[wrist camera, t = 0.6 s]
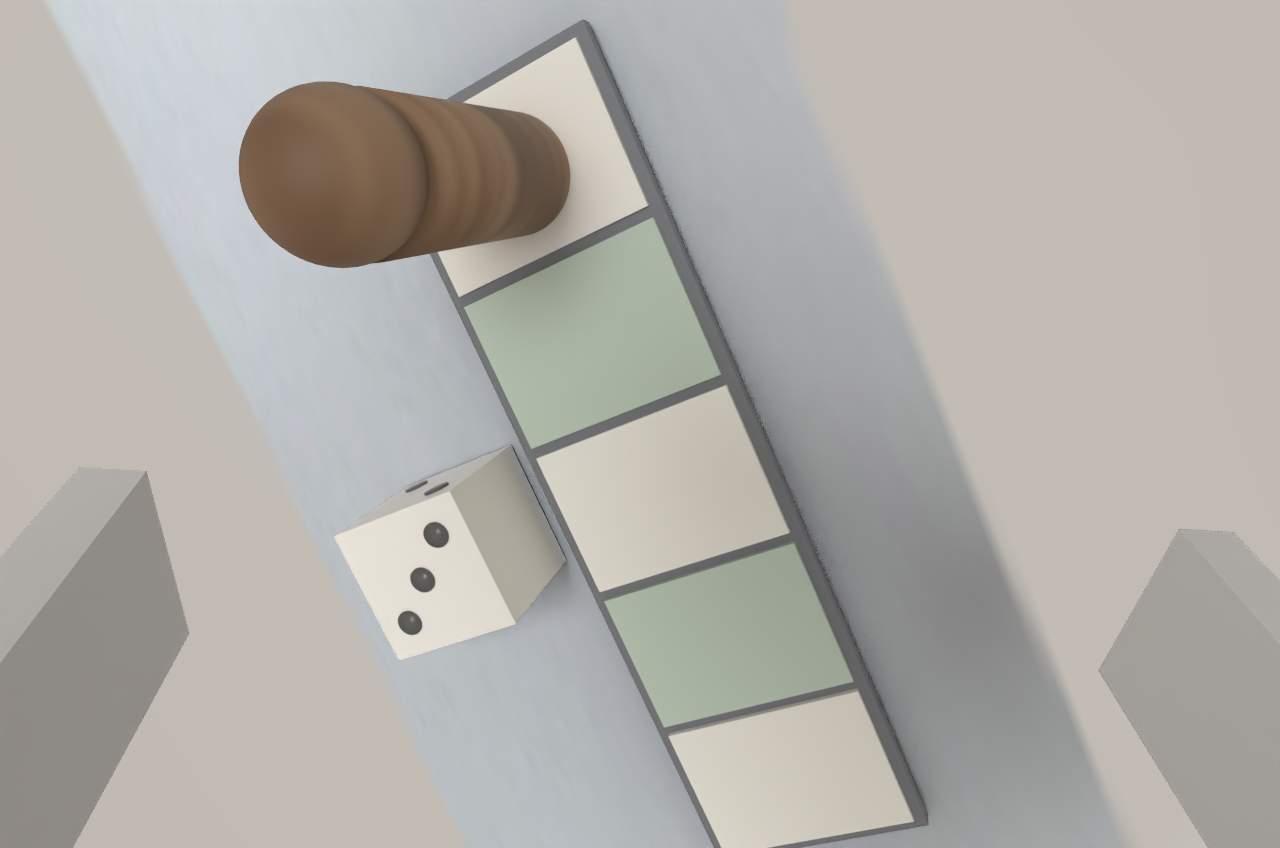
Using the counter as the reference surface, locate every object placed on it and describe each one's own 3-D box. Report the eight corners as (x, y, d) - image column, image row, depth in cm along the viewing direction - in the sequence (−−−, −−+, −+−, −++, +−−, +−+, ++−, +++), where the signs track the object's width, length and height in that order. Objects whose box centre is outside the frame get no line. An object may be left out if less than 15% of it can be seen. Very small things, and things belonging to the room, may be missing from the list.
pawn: (537, 89, 27) (306, 33, 16) (590, 206, 28) (400, 229, 17) (438, 145, 29) (163, 129, 18) (490, 255, 29) (255, 306, 18)
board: (588, 22, 27) (580, 18, 26) (927, 813, 32) (928, 829, 31) (385, 141, 30) (373, 140, 29) (723, 850, 35) (719, 865, 34)
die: (510, 443, 32) (447, 490, 28) (566, 560, 33) (515, 625, 28) (406, 484, 34) (331, 535, 29) (462, 595, 35) (398, 661, 30)
